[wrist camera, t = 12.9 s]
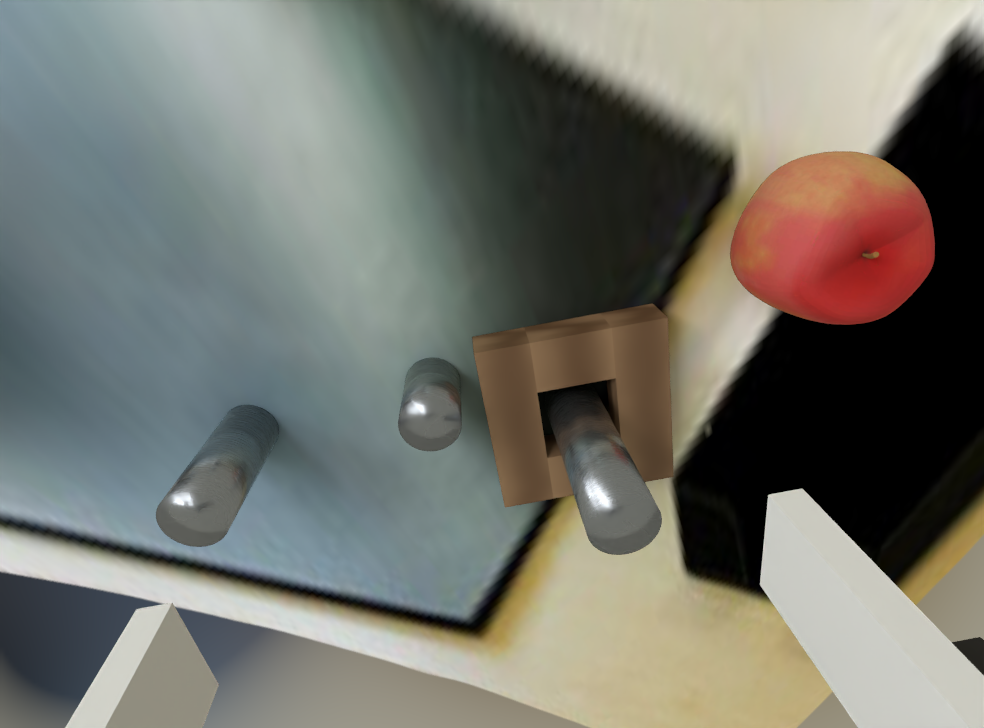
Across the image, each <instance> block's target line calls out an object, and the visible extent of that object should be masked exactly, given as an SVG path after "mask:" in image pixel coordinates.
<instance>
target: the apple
mask: <svg viewBox="0 0 984 728" xmlns="http://www.w3.org/2000/svg"><path fill="white" fill-rule="evenodd" d="M934 255H935V242H934V232H933V225H932V220H931V215H930V212H929V209H928V207H927V204H926V202H925V199H924V197H923V195H922V194H921V192H920V191H919V189H918V188H917V187H916V186H915V184H914V183H913V182H912V181H911V180H910V179H909V178H908V177H906V176H905V175H904V174H903V173H902V172H900V171H899V170H898V169H896V168H895V167H893V166H892V165H890V164H889V163H887V162H886V161H884V160H882V159H879V158H877V157H875V156H872V155H868V154H863V153H858V152H824V153H819V154H813V155H808V156H805V157H801V158H799V159H796V160H793V161H791V162H789V163H787V164H785V165H783V166H781V167H780V168H778V169H777V170H776V171H774V172H773V173H772V174H771V175H770V176H769V177H768V178H767V179H766V180H765V181H764V182H763V183H762V184H761V185H760V187H759V188H758V189H757V191H756V192H755V193H754V195H753V196H752V198H751V199H750V201H749V203H748V204H747V206H746V208H745V210H744V211H743V213H742V215H741V217H740V220H739V222H738V224H737V227H736V230H735V232H734V236H733V239H732V244H731V251H730V258H731V265H732V268H733V271H734V273H735V275H736V277H737V279H738V280H739V281H740V283H741V284H742V285H743V286H744V287H745V288H746V289H747V290H748V291H749V292H750V293H751V294H752V295H754V296H755V297H757V298H758V299H760V300H761V301H763V302H765V303H767V304H768V305H770V306H772V307H774V308H777V309H779V310H781V311H784V312H786V313H789V314H791V315H795V316H798V317H801V318H804V319H808V320H812V321H816V322H821V323H827V324H843V325H847V324H859V323H866V322H871V321H874V320H877V319H880V318H882V317H885V316H886V315H888V314H890V313H891V312H893V311H894V310H896V309H897V308H898V307H899V306H900V305H901V304H903V303H904V302H905V301H906V300H907V299H908V298H909V297H910V296H911V295H912V294H913V293H914V292H915V290H916V289H917V288H918V287H919V286H920V285H921V283H922V282H923V281H924V280H925V278H926V277H927V275H928V274H929V272H930V270H931V268H932V266H933V263H934Z"/></svg>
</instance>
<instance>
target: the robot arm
mask: <svg viewBox="0 0 984 728" xmlns="http://www.w3.org/2000/svg"><path fill="white" fill-rule="evenodd" d="M760 585H761V587H762V588H763V590H764V591H765V593H766V594H767V596H768V597H769V599H770V600H771V602H772V603H773V605H774V606H775V607H776V609H777V610H778V612H779V613H780V615H781V616H782V618H783V619H784V621H785V622H786V624H787V625H788V626H789V628H790V629H791V631H792V632H793V634H794V635H795V637H796V638H797V640H798V641H799V643H800V644H801V645H802V647H803V648H804V650H805V651H806V653H807V654H808V656H809V657H810V659H811V660H812V662H813V663H814V664H815V666H816V667H817V669H818V670H819V672H820V673H821V675H822V676H823V678H824V679H825V681H826V682H827V683H828V685H829V686H830V688H831V689H832V691H833V692H834V693H835V695H836V696H837V698H838V700H839V701H840V702H841V704H842V705H843V707H844V708H845V710H846V711H847V713H848V714H849V716H850V717H851V718H852V720H853V721H854V722H855V724H856V726H857V727H858V728H984V640H983V639H982V638H980V637H979V638H973V639H968V640H963V641H957V642H950V641H949V639H948V638H947V637H946V636H945V635H944V634H943V633H942V632H941V631H940V630H939V629H938V628H937V627H936V626H935V625H934V624H933V623H932V622H931V621H930V620H929V619H928V618H927V617H926V616H925V615H924V614H923V613H922V612H921V611H920V610H919V608H918V607H917V606H916V605H915V604H914V603H913V602H912V601H911V600H910V599H909V598H908V597H907V596H906V595H905V594H904V593H903V592H902V591H901V590H900V589H899V588H898V587H897V586H896V585H895V584H894V583H893V582H892V581H891V580H890V579H889V578H888V577H887V575H886V574H885V573H884V572H883V571H882V570H881V569H880V568H879V567H878V566H877V565H876V564H875V563H874V562H873V561H872V560H871V559H870V558H869V557H868V556H867V555H866V554H865V553H864V552H863V551H862V550H861V549H860V548H859V547H858V546H857V545H856V544H855V543H854V541H853V540H852V539H851V538H850V537H849V536H848V535H847V534H846V533H845V532H844V531H843V530H842V529H841V528H840V527H839V526H838V525H837V524H836V523H835V522H834V521H833V520H832V519H831V518H830V517H829V516H828V515H827V514H826V513H825V512H824V511H823V510H822V509H821V507H820V506H819V505H818V504H817V503H816V502H815V501H814V500H813V499H812V498H811V497H810V496H809V495H808V494H807V493H806V492H805V491H804V490H803V489H797V490H792V491H786V492H781V493H775V494H770V495H768V503H767V514H766V525H765V536H764V546H763V557H762V568H761V579H760ZM218 685H219V684H218V682H217V681H216V679H215V677H214V675H213V674H212V672H211V670H210V669H209V667H208V665H207V663H206V661H205V660H204V658H203V656H202V654H201V653H200V651H199V649H198V647H197V646H196V644H195V642H194V640H193V638H192V637H191V635H190V633H189V632H188V630H187V628H186V626H185V624H184V623H183V621H182V619H181V617H180V615H179V614H178V612H177V610H176V608H175V607H174V605H173V603H168V604H162V605H157V606H152V607H146V608H141V609H136V611H135V613H134V614H133V616H132V618H131V619H130V621H129V623H128V624H127V626H126V628H125V629H124V631H123V633H122V634H121V636H120V638H119V639H118V641H117V643H116V644H115V646H114V648H113V649H112V651H111V653H110V654H109V656H108V658H107V659H106V661H105V663H104V664H103V666H102V668H101V669H100V671H99V673H98V674H97V676H96V678H95V679H94V681H93V683H92V684H91V686H90V687H89V689H88V691H87V692H86V694H85V696H84V697H83V699H82V701H81V703H80V704H79V706H78V708H77V709H76V711H75V712H74V714H73V716H72V717H71V719H70V721H69V722H68V724H67V726H66V727H65V728H202V727H203V725H204V722H205V720H206V717H207V714H208V712H209V709H210V706H211V704H212V701H213V698H214V696H215V693H216V691H217V688H218Z"/></svg>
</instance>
